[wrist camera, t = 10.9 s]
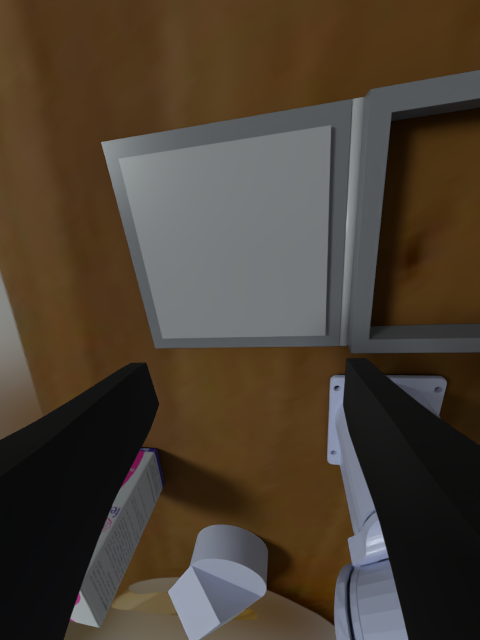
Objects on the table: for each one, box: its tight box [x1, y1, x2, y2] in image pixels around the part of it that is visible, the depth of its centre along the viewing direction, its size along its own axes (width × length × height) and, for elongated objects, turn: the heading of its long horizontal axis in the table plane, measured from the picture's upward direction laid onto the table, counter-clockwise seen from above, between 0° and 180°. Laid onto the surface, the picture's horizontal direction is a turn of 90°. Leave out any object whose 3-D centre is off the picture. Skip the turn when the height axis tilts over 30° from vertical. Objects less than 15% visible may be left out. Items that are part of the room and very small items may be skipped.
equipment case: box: [101, 70, 480, 353], centre depth 16 cm, size 14×29×2 cm, turn 96°
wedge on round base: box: [168, 525, 268, 640], centre depth 31 cm, size 9×7×13 cm
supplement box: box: [70, 448, 164, 628], centre depth 24 cm, size 6×6×12 cm
